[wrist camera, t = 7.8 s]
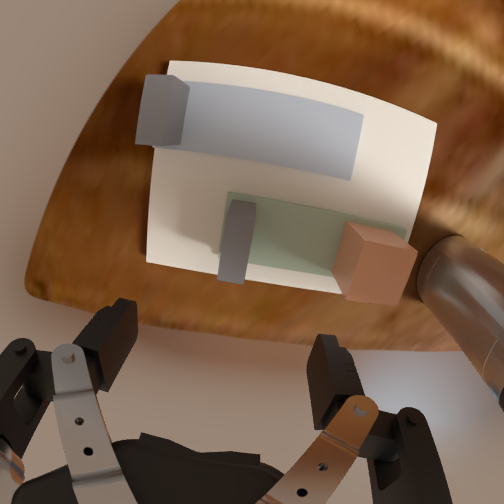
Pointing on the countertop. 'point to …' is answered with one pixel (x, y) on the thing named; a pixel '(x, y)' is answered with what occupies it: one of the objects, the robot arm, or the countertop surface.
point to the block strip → (282, 236)
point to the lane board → (284, 176)
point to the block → (372, 264)
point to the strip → (248, 125)
